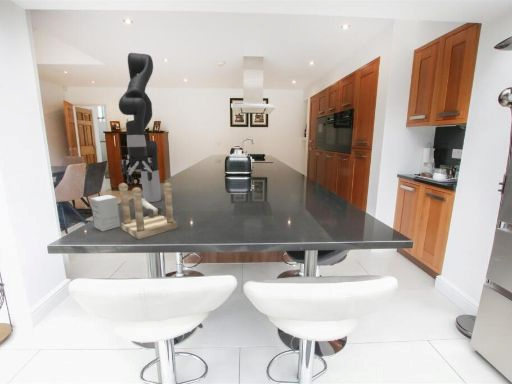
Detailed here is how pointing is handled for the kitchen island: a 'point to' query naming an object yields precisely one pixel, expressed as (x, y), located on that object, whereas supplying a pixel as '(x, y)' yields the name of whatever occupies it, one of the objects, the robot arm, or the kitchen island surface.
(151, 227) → the wooden post rack
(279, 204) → the kitchen island surface
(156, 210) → the folding leg
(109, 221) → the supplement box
